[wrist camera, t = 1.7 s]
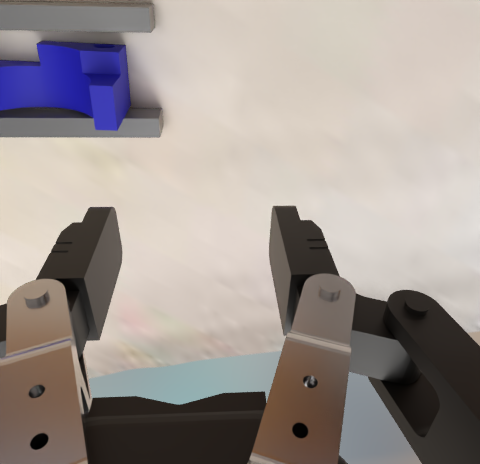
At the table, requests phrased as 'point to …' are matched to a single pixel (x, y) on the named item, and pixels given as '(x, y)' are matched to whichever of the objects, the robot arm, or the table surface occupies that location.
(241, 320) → the table surface
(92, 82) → the blue u-shaped block
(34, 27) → the grey u-shaped bracket
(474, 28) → the table surface
